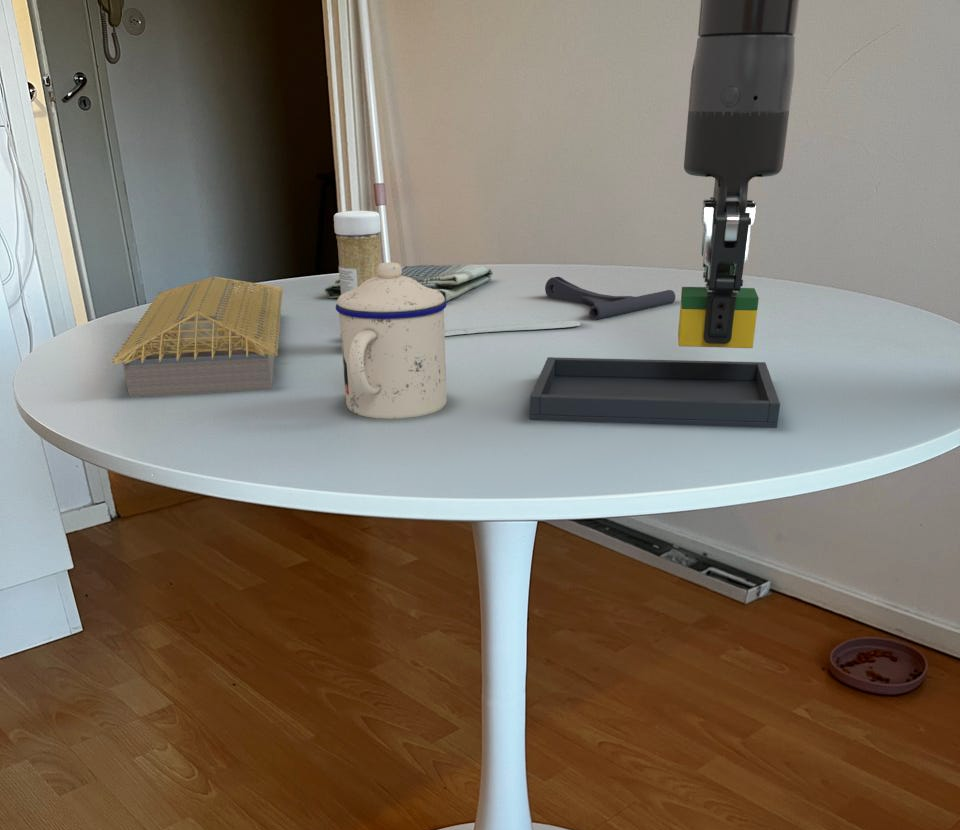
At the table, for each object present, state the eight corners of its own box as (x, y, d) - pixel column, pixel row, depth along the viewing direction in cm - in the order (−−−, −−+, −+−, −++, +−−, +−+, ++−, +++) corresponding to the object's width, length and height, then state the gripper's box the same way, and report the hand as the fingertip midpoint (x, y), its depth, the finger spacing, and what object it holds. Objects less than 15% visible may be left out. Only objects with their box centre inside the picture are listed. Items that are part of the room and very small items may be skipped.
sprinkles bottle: (391, 353, 104) (383, 213, 98) (348, 356, 103) (337, 215, 97) (383, 343, 108) (374, 208, 102) (341, 347, 107) (330, 210, 101)
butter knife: (584, 324, 112) (576, 317, 115) (342, 343, 107) (339, 335, 110) (584, 329, 112) (576, 323, 115) (343, 348, 108) (340, 341, 110)
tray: (762, 385, 91) (765, 362, 90) (776, 430, 79) (780, 403, 78) (547, 379, 94) (547, 357, 93) (529, 421, 82) (530, 396, 81)
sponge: (748, 336, 86) (754, 287, 84) (752, 348, 82) (758, 297, 80) (677, 334, 87) (681, 286, 85) (678, 346, 83) (682, 296, 81)
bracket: (585, 290, 135) (585, 268, 133) (675, 304, 125) (676, 280, 124) (509, 306, 126) (508, 283, 125) (599, 322, 117) (600, 297, 115)
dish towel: (378, 277, 147) (376, 254, 145) (495, 282, 142) (494, 258, 140) (321, 300, 131) (319, 274, 130) (450, 306, 126) (450, 279, 125)
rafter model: (281, 392, 91) (273, 323, 88) (117, 402, 89) (104, 331, 86) (285, 317, 122) (280, 264, 119) (163, 323, 120) (154, 269, 117)
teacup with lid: (371, 389, 92) (362, 253, 86) (464, 397, 89) (461, 257, 83) (308, 426, 82) (293, 276, 76) (410, 436, 79) (402, 281, 74)
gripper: (800, 107, 69) (768, 357, 78) (780, 104, 82) (754, 320, 90) (690, 108, 71) (670, 354, 79) (687, 105, 83) (670, 318, 91)
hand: (715, 335), depth 84 cm, fingers closed on sponge, 4 cm apart
